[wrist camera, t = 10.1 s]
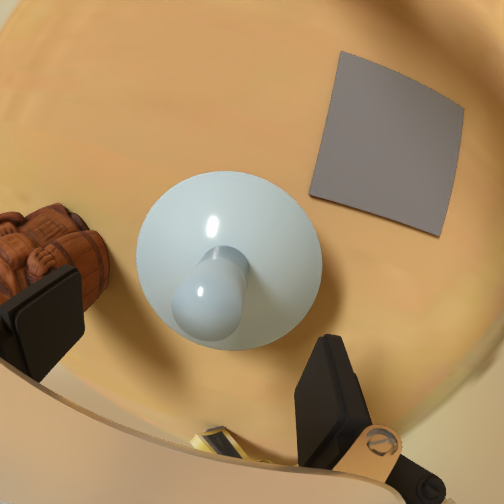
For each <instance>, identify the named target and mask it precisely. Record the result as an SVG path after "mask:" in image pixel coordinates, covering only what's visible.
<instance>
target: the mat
mask: <svg viewBox="0 0 504 504" xmlns="http://www.w3.org/2000/svg"><path fill="white" fill-rule="evenodd" d="M463 116H464V108H463V107H461V106H460V105H458V104H456V103H455V102H453V101H451V100H450V99H448V98H446V97H445V96H443V95H441V94H439V93H438V92H436V91H434V90H432V89H430V88H428V87H427V86H425V85H423V84H421V83H419V82H417V81H415V80H413V79H411V78H409V77H406V76H404V75H402V74H400V73H398V72H396V71H393V70H391V69H389V68H386V67H384V66H382V65H379V64H377V63H374V62H372V61H369V60H366V59H364V58H361V57H358V56H355V55H352V54H350V53H347V52H344V51H341V52H340V57H339V62H338V67H337V72H336V77H335V82H334V87H333V92H332V97H331V101H330V106H329V110H328V115H327V119H326V124H325V128H324V133H323V137H322V141H321V145H320V150H319V154H318V158H317V162H316V166H315V170H314V174H313V178H312V182H311V186H310V190H309V195H313V196H316V197H320V198H324V199H327V200H331V201H334V202H338V203H341V204H344V205H348V206H351V207H354V208H358V209H361V210H364V211H367V212H370V213H373V214H377V215H380V216H383V217H386V218H389V219H392V220H395V221H398V222H401V223H404V224H406V225H409V226H412V227H415V228H418V229H421V230H423V231H426V232H429V233H431V234H434V235H437V236H440V233H441V230H442V226H443V223H444V219H445V216H446V212H447V208H448V204H449V200H450V196H451V191H452V187H453V182H454V177H455V172H456V167H457V161H458V155H459V149H460V142H461V134H462V126H463Z"/></svg>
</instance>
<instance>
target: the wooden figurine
mask: <svg viewBox="0 0 504 504" xmlns="http://www.w3.org/2000/svg"><path fill="white" fill-rule="evenodd" d="M65 264H67V265H70V266H73V267H76V268H77V269H78V270H79V273H80V274H81V277H82V299H83V313H84V312H85V311H86V310H87V309H88V308H89V307H90V306H91V305H92V304H93V303H94V302H95V301H96V299H97V298H98V297H99V296H100V295H101V294H102V292H103V291H104V290H105V288H106V287H107V284H108V275H109V262H108V254H107V251H106V248H105V245H104V243H103V240H102V238H101V237H100V235H99V234H98V233H97V232H96V231H93V230H89V229H88V228H87V226H86V224H85V223H84V222H83V221H82V220H81V218H80V217H79V216H78V215H77V214H75V213H71V214H69V215H68V213H67V211H66V209H65V208H64V207H63V206H62V205H61V204H60V203H55V204H53V205H50V206H46V207H43V208H41V209H39V210H37V211H35V212H33V213H31V214H29V215H27V216H26V217H25V218H24V216H23V215H22V214H20V213H18V212H6V213H2V214H0V305H1V304H3V303H4V302H6V301H7V300H9V299H10V298H12V297H13V296H15V295H16V294H18V293H19V292H21V291H22V290H24V289H25V288H27V287H28V286H30V285H31V284H33V283H35V282H36V281H38V280H39V279H41V278H43V277H44V276H46V275H48V274H49V273H51V272H52V271H54V270H56V269H57V268H59V267H61V266H63V265H65Z"/></svg>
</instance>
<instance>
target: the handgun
mask: <svg viewBox="0 0 504 504" xmlns="http://www.w3.org/2000/svg"><path fill="white" fill-rule="evenodd" d="M225 428H226V427H224V426H221V427H217V428H212V429H208V430H207V431H206V432H205V433H200V434H196V435H195V436H194V438H193V439H192V440H191V441H190V443H191V444H192V445H193V447H194V448H195V449H197V450H201V451H206V452H210V453H214V454H219V455H224V456H229V457H234V458H239V459H245V460H251V461H257V462H264V461H267V462H269V463H271V464H274V463H273V462H272V461H270V460H267V459H259V460H255V459H252V458H250V457H249V456H248V455H247V454H246V453H245V452H244V451H243V449H242V448H241V447H240V446H239V445H238V444H237V442H236V441H235V440H234V439H233V438H232V437H231V435H230V434H229V433H228V432H227V430H226V429H225ZM293 466H299V465H298V464H296V465H293Z"/></svg>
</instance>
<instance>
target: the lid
mask: <svg viewBox="0 0 504 504" xmlns="http://www.w3.org/2000/svg"><path fill="white" fill-rule="evenodd" d="M136 264H137V272H138V277H139V281H140V284H141V287H142V290H143V292H144V294H145V296H146V298H147V300H148V302H149V304H150V305H151V307H152V308H153V310H154V311H155V312H156V314H157V315H158V316H159V317H160V318H161V320H162V321H164V322H165V323H166V324H167V325H168V326H169V327H170V328H171V329H173V330H174V331H175V332H177V333H178V334H179V335H181V336H183V337H184V338H186V339H188V340H190V341H192V342H194V343H197V344H199V345H202V346H205V347H209V348H213V349H218V350H228V351H238V350H248V349H254V348H257V347H261V346H264V345H267V344H269V343H272V342H274V341H276V340H278V339H279V338H281V337H283V336H284V335H286V334H287V333H289V332H290V331H291V330H293V329H294V328H295V327H296V326H297V325H298V324H299V323H300V322H301V321H302V319H303V318H304V317H305V316H306V314H307V313H308V311H309V310H310V308H311V306H312V305H313V303H314V300H315V298H316V296H317V293H318V290H319V286H320V283H321V276H322V254H321V248H320V243H319V240H318V237H317V234H316V231H315V229H314V227H313V225H312V223H311V221H310V219H309V218H308V216H307V215H306V213H305V212H304V210H303V209H302V208H301V207H300V205H299V204H298V203H297V202H296V201H295V200H294V199H293V198H292V197H291V196H290V195H289V194H287V193H286V192H285V191H284V190H283V189H281V188H280V187H278V186H276V185H275V184H273V183H272V182H269V181H267V180H265V179H263V178H261V177H258V176H254V175H251V174H248V173H241V172H235V171H217V172H209V173H204V174H200V175H196V176H193V177H191V178H188V179H186V180H184V181H182V182H180V183H178V184H177V185H175V186H174V187H172V188H171V189H169V190H168V191H167V192H166V193H165V194H163V195H162V196H161V197H160V198H159V200H158V201H157V202H156V203H155V204H154V205H153V207H152V208H151V210H150V211H149V213H148V214H147V216H146V218H145V220H144V222H143V224H142V227H141V230H140V233H139V237H138V242H137V249H136Z"/></svg>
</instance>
